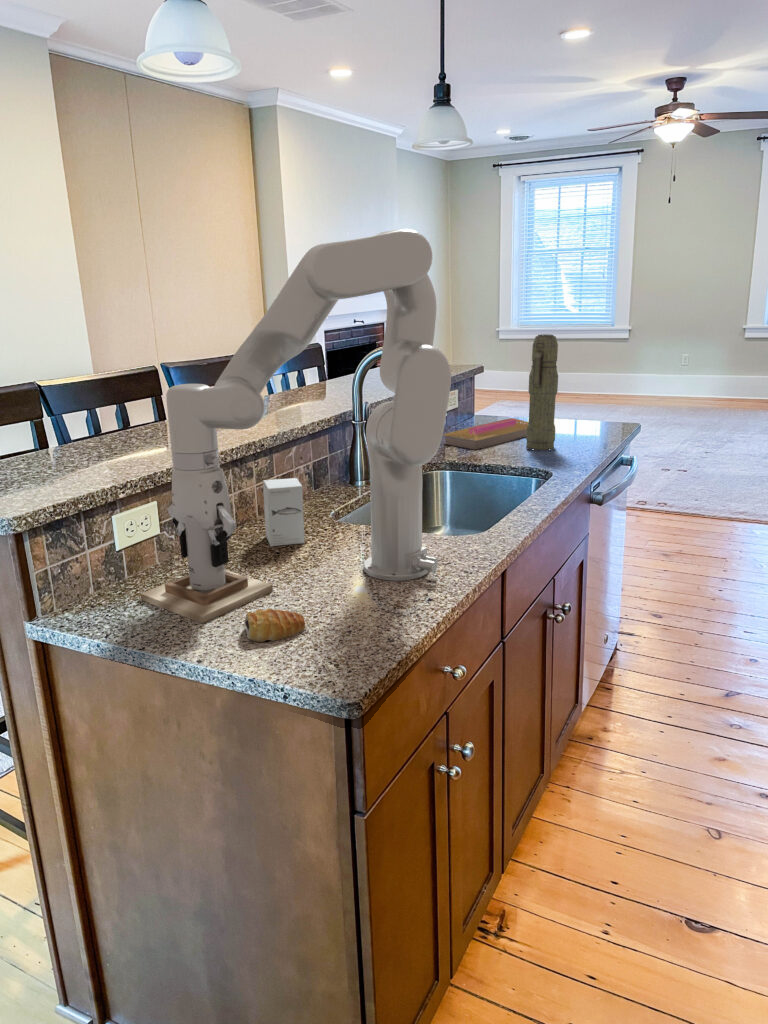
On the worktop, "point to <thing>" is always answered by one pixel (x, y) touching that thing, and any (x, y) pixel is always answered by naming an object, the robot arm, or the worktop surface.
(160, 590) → the board
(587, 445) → the worktop surface
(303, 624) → the pastry
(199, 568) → the energy drink can
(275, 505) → the supplement box
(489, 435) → the pink-striped tan slab
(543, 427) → the olive stone tall figure
